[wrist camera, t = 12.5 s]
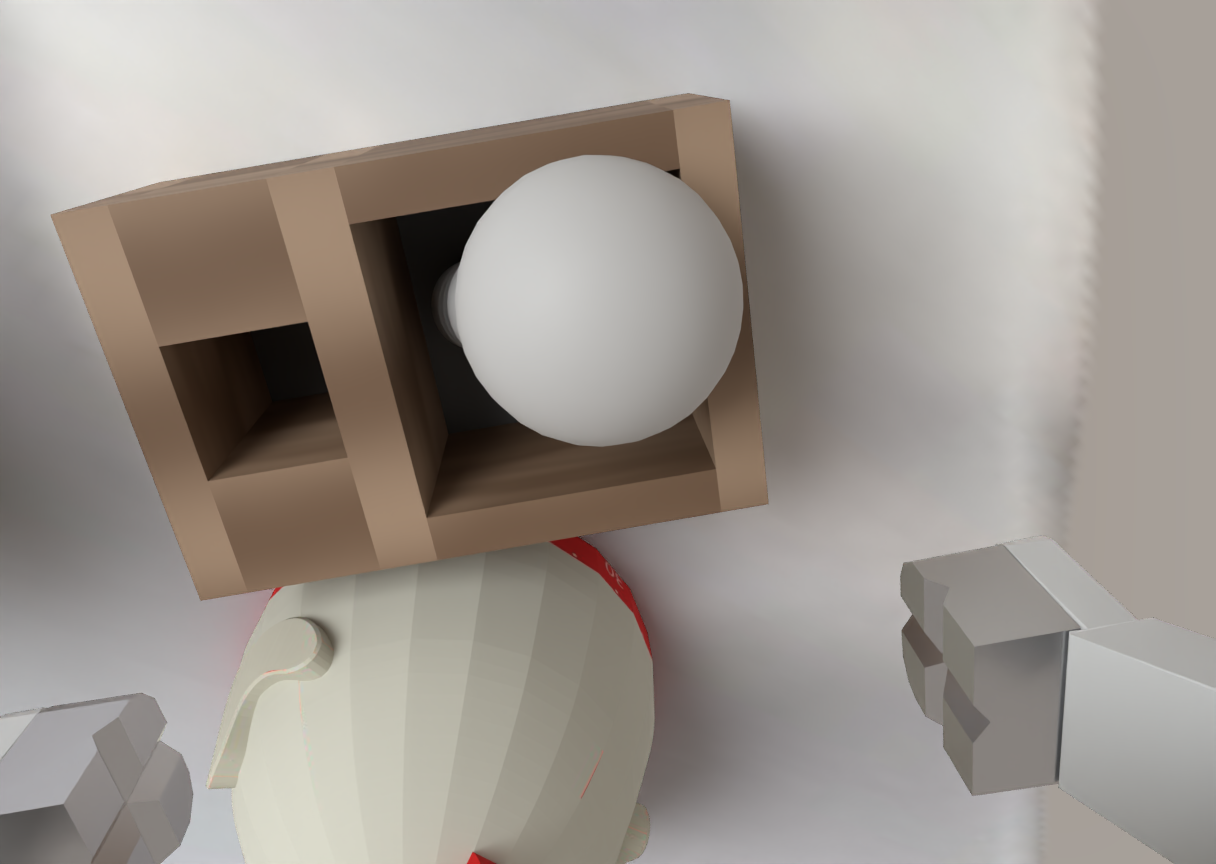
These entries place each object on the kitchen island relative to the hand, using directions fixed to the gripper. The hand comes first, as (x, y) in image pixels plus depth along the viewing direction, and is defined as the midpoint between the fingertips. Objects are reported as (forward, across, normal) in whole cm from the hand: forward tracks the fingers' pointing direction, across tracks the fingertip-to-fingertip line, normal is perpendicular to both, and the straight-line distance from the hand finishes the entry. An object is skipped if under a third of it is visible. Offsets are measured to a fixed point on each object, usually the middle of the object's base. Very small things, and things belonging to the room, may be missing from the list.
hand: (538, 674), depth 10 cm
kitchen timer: (+19, +5, +14) cm, 24 cm away
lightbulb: (+18, +2, 0) cm, 18 cm away
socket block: (+18, +2, +1) cm, 19 cm away
